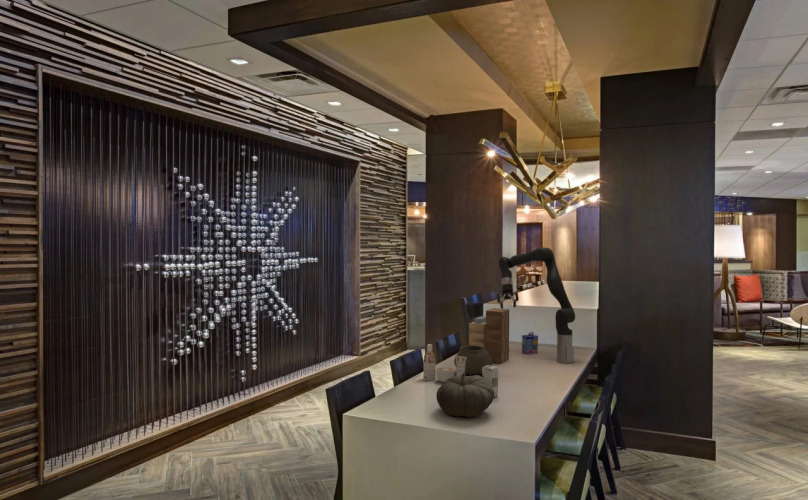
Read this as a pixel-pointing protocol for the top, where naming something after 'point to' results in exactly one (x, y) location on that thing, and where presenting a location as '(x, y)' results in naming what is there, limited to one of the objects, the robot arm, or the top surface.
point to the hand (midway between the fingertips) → (508, 307)
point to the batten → (480, 320)
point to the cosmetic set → (442, 373)
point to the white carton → (491, 377)
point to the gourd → (465, 395)
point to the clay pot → (474, 358)
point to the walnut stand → (497, 334)
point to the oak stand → (477, 334)
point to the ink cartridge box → (530, 343)
